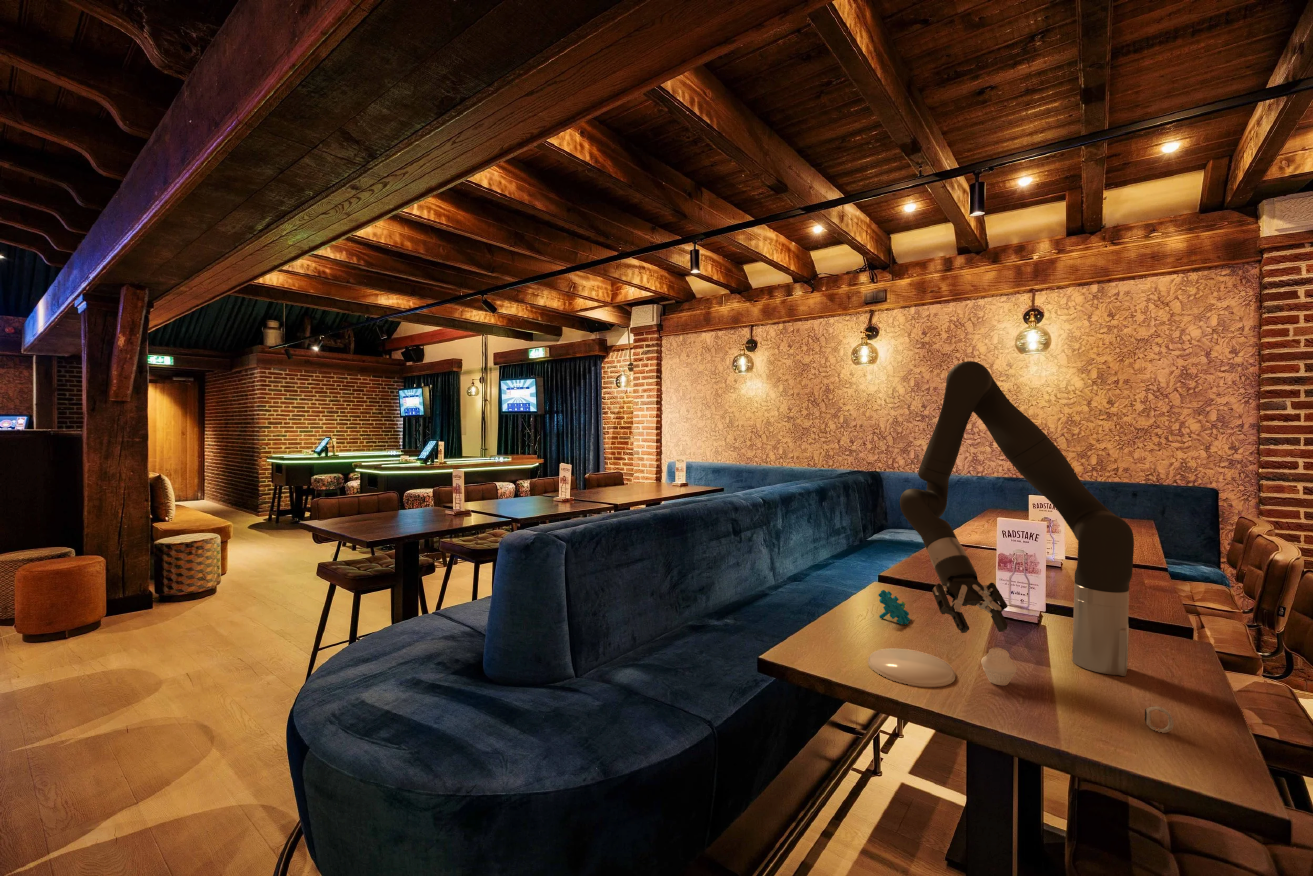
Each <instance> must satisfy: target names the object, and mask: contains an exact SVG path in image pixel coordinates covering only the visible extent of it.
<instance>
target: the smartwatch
mask: <svg viewBox="0 0 1313 876" xmlns="http://www.w3.org/2000/svg"><path fill="white" fill-rule="evenodd" d="M1152 711H1159V712H1161V713H1163V714H1165V715H1167V718H1168V719H1167V720H1168V722H1167V726H1165V728H1159V729H1160V730H1156V729H1155V728H1156V727H1155V726H1153V725H1152V724H1151V722H1152V721H1151V720H1152V715H1151V712H1152ZM1144 722H1145V725H1146V726H1148V727H1149V729H1151V730H1153V731H1154V730H1155V731H1154V732H1156V731H1158V732H1157V733H1160V732H1162V733H1161V734H1164V733H1165V734H1167V733H1169V732H1170V731H1172V730H1173V728H1174V724H1175V723H1174V719H1173V717H1172V714H1171V713H1170V712H1169V711H1168V709H1166V708H1163V707H1162V706H1158V705H1154V706H1149V707H1147V708H1145V709H1144Z"/></svg>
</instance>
